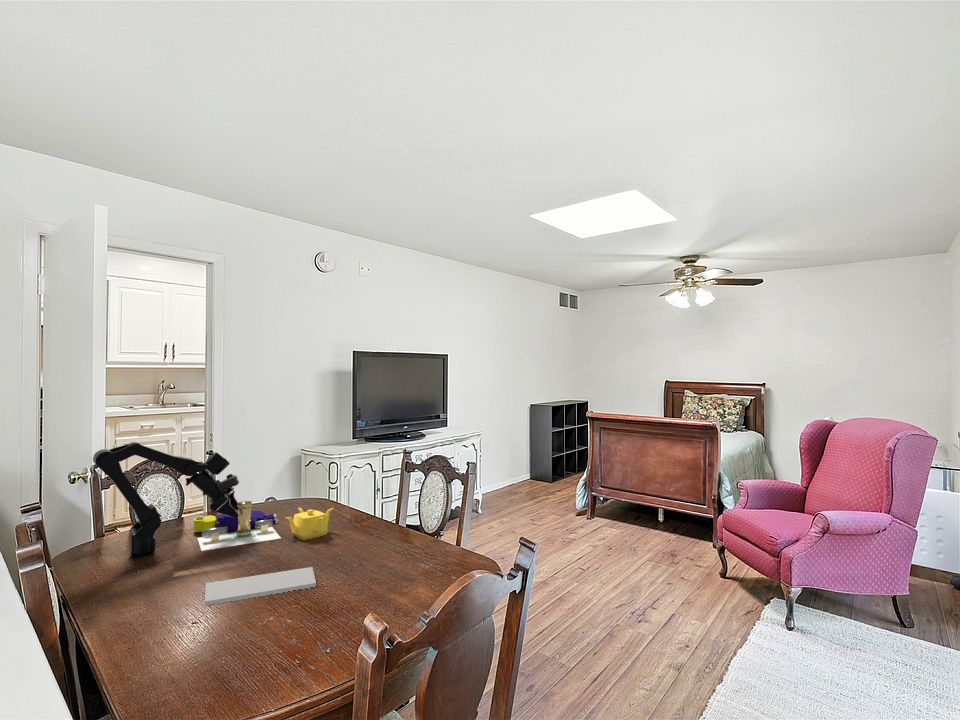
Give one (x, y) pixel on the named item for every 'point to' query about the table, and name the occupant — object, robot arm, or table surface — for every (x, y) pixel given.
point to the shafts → (216, 532)
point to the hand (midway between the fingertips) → (239, 513)
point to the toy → (228, 521)
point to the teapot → (309, 524)
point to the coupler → (244, 518)
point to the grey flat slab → (259, 585)
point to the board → (237, 539)
